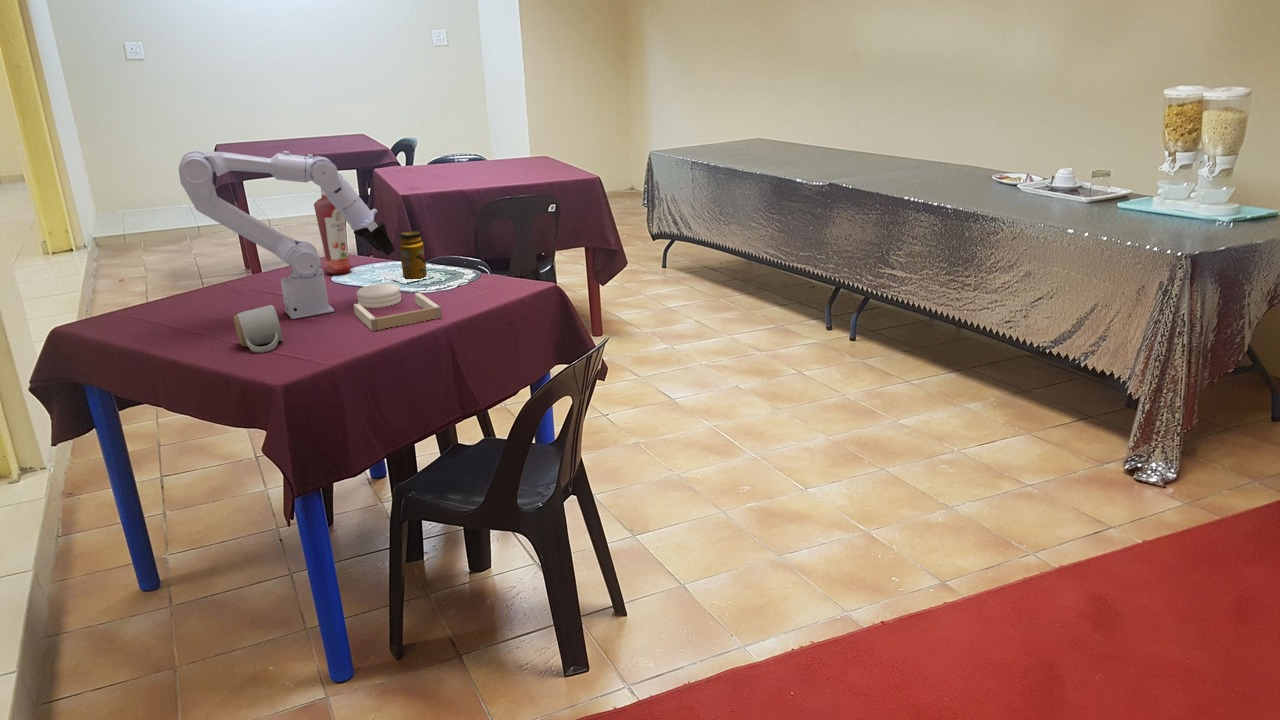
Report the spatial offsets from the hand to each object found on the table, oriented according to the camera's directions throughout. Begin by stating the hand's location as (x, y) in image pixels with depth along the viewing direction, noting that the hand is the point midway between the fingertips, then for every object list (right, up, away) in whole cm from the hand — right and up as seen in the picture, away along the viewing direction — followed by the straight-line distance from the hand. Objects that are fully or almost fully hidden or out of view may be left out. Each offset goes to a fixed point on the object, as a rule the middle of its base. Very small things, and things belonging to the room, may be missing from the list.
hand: (386, 250), depth 210 cm
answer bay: (+5, -16, -8) cm, 18 cm away
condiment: (0, -5, +22) cm, 23 cm away
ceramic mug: (-19, -23, -24) cm, 38 cm away
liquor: (-21, -2, +31) cm, 38 cm away
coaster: (-2, -12, +3) cm, 13 cm away
